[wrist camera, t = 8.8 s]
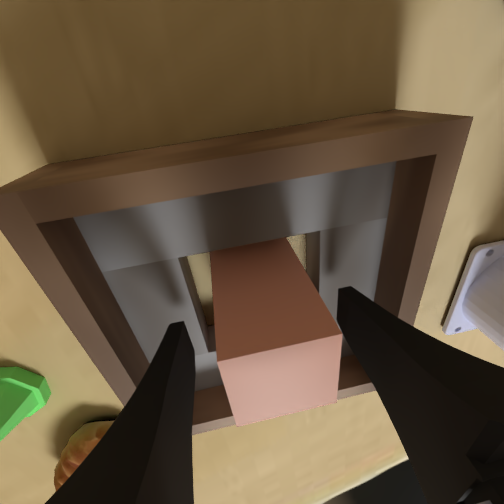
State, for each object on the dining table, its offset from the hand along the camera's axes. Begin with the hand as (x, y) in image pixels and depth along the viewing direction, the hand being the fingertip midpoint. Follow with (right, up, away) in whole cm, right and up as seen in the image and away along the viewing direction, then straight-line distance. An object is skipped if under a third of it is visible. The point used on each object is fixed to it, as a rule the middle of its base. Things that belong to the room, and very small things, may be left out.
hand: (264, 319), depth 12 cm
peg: (-1, +2, +3) cm, 4 cm away
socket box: (-1, +2, +3) cm, 3 cm away
